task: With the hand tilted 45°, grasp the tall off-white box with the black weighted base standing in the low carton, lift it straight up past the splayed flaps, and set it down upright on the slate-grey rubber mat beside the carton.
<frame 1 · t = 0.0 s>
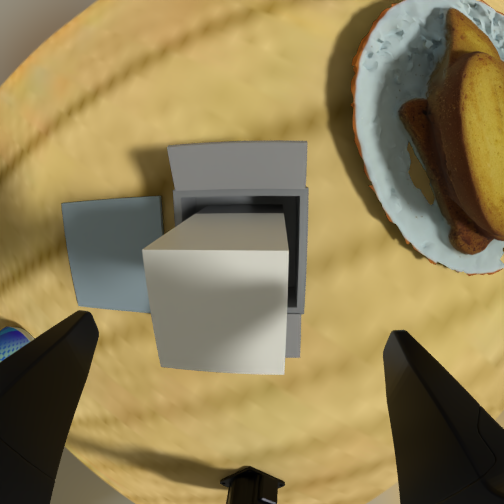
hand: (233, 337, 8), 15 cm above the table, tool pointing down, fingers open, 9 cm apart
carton: (246, 239, 23), on the table
beer can: (28, 349, 30), on the table
food on plate: (478, 130, 20), on the table
rubber mat: (113, 256, 25), on the table
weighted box: (245, 240, 23), resting on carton
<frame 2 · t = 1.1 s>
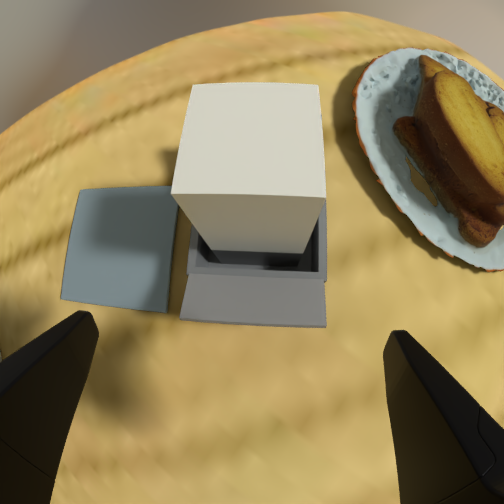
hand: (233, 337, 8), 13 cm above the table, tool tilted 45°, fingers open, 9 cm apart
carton: (261, 230, 23), on the table
food on plate: (462, 151, 25), on the table
rubber mat: (117, 245, 23), on the table
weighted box: (261, 229, 23), resting on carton
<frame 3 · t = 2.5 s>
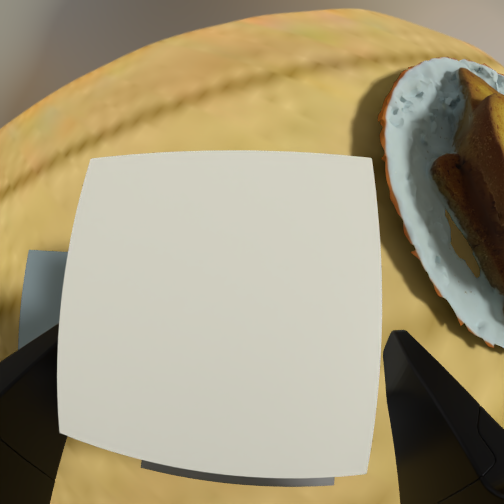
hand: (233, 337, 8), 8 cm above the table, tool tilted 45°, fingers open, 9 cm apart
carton: (252, 324, 17), on the table
rubber mat: (71, 329, 17), on the table
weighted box: (251, 324, 16), resting on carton
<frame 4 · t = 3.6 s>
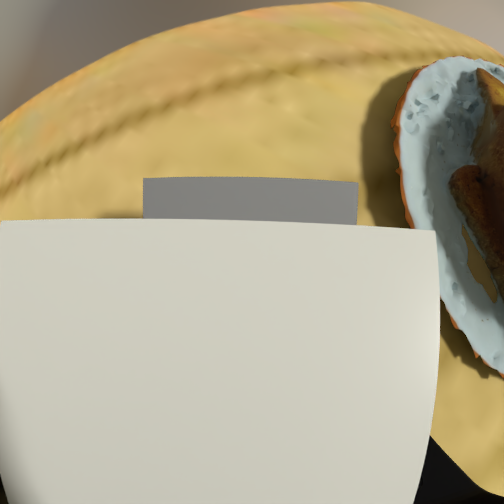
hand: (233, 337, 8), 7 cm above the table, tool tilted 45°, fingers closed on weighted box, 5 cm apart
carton: (247, 361, 14), on the table
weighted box: (246, 362, 14), resting on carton, touching gripper
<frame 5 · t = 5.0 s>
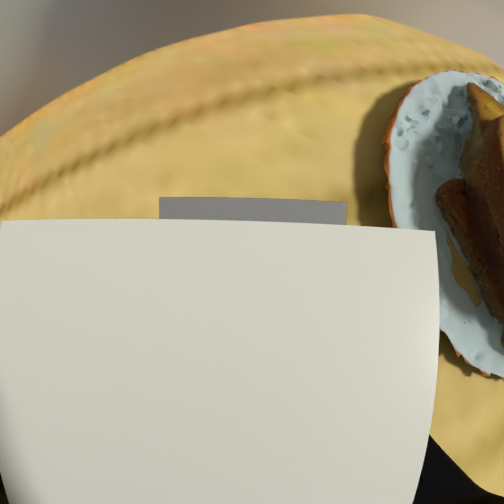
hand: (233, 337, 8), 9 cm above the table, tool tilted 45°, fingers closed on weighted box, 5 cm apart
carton: (250, 356, 16), on the table
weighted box: (246, 362, 14), point 2 cm above the table, touching gripper
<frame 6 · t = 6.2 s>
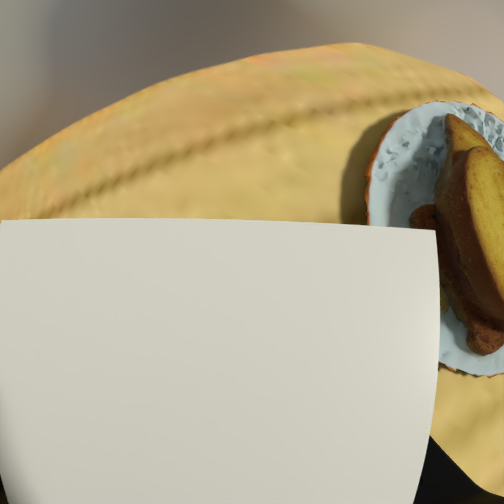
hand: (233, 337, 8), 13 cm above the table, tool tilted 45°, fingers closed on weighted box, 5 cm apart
food on plate: (482, 232, 22), on the table
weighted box: (246, 362, 14), point 7 cm above the table, touching gripper
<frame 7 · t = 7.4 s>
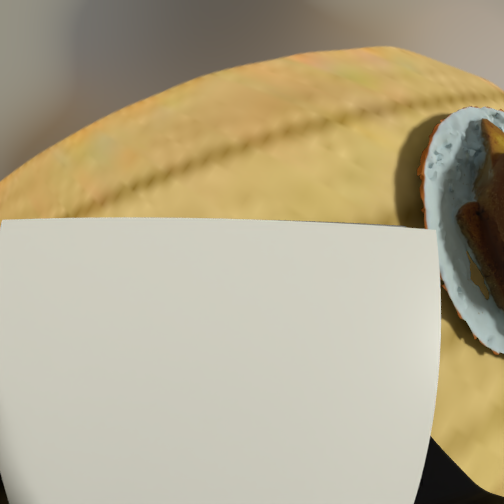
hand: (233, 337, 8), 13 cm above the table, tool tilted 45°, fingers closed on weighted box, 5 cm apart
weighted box: (247, 362, 14), point 7 cm above the table, touching gripper
when the fingers open (8 cm above the table, at t = 10.6 s): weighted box drops 1 cm, resting on rubber mat.
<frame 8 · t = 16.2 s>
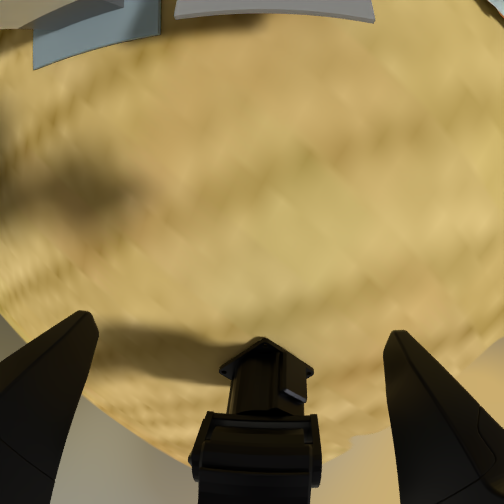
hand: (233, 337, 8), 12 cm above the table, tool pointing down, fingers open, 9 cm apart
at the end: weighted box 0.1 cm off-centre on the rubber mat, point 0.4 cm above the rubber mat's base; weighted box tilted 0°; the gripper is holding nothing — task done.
